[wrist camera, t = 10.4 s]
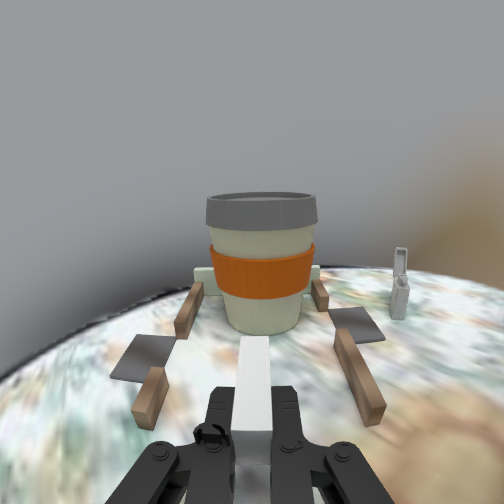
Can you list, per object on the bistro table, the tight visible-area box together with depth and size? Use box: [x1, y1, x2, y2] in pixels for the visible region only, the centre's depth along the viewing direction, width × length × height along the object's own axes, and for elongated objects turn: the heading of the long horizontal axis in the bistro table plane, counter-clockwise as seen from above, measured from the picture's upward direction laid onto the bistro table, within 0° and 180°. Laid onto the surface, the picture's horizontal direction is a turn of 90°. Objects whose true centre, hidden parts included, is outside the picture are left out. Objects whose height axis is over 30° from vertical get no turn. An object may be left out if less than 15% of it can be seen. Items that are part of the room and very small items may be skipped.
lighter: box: [390, 247, 410, 320], centre depth 33 cm, size 7×2×8 cm, turn 158°
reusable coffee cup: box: [206, 192, 318, 336], centre depth 33 cm, size 13×12×15 cm
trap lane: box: [110, 279, 387, 430], centre depth 29 cm, size 27×28×2 cm
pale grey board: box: [194, 265, 320, 295], centre depth 41 cm, size 1×18×4 cm, turn 90°
